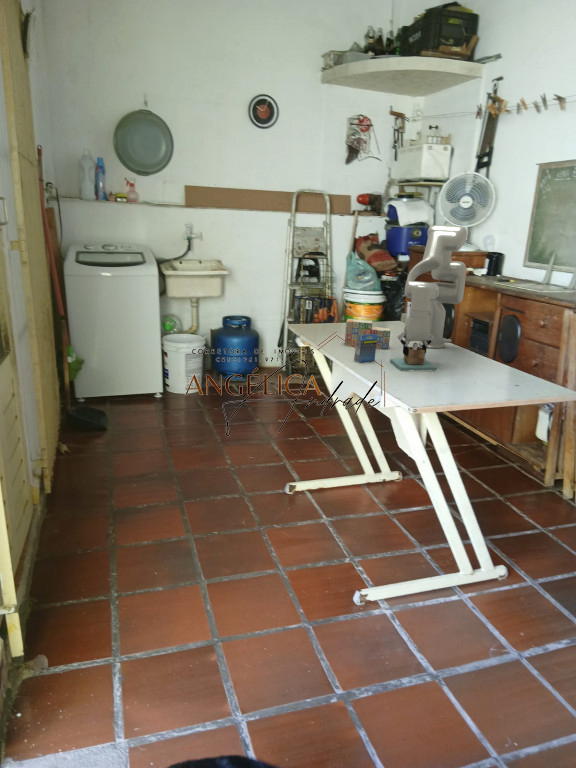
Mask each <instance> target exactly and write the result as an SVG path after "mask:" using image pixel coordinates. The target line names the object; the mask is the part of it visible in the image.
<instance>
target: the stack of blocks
mask: <svg viewBox="0 0 576 768" xmlns="http://www.w3.org/2000/svg"><path fill="white" fill-rule="evenodd" d="M373 322H374V321H373V320H368V319H354V318H353V319H352V318H347V319H346V323H345V333H344V334H345V336H344V346H347V347H348V346H349V347H355V346H356V342H358V341H361V335H370V334H377V345H376V349H382V350H389V349H390V348H389V347H390V341H391V330H392V328H387V327H386V328H385V327H377V326H376V327H375V326H373ZM370 338H372V337H370V336H369V337H367V339H370Z"/></svg>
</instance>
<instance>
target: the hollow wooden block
mask: <svg viewBox="0 0 576 768" xmlns="http://www.w3.org/2000/svg"><path fill="white" fill-rule="evenodd" d="M412 348H413V346H408V355H407V356H405V355H404V354H403V359H404V361H405V362H407V363H408V364H424V359H425V356H426V353H425V350H424V349H422V346H418V347H417V350H412Z"/></svg>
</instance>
